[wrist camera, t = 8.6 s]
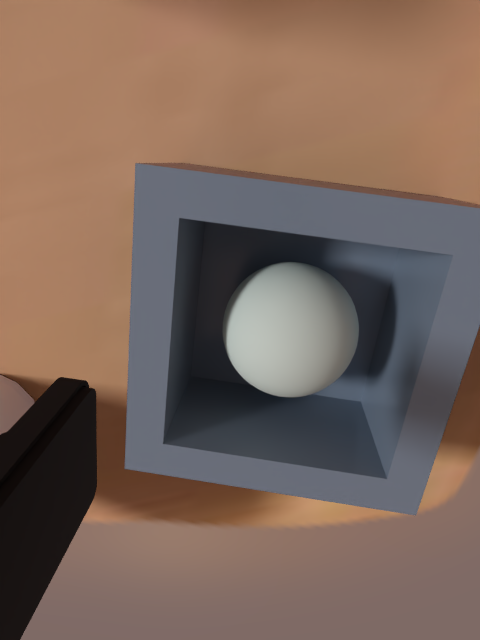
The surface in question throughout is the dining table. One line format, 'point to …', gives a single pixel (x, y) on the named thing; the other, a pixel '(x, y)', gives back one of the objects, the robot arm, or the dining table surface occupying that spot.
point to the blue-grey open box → (365, 367)
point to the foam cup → (12, 403)
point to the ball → (290, 329)
